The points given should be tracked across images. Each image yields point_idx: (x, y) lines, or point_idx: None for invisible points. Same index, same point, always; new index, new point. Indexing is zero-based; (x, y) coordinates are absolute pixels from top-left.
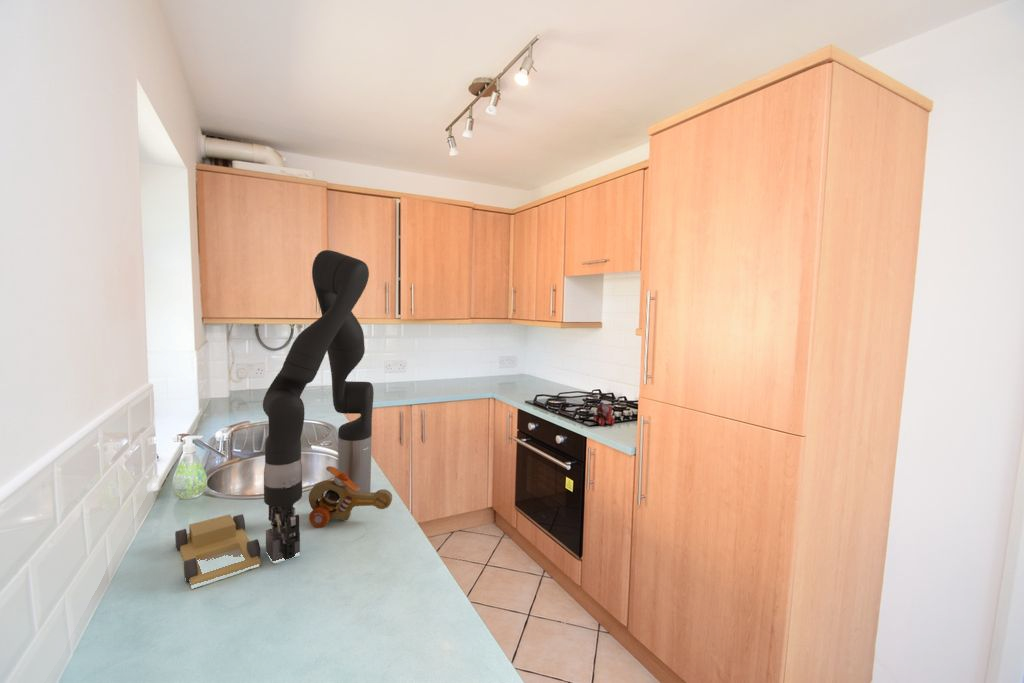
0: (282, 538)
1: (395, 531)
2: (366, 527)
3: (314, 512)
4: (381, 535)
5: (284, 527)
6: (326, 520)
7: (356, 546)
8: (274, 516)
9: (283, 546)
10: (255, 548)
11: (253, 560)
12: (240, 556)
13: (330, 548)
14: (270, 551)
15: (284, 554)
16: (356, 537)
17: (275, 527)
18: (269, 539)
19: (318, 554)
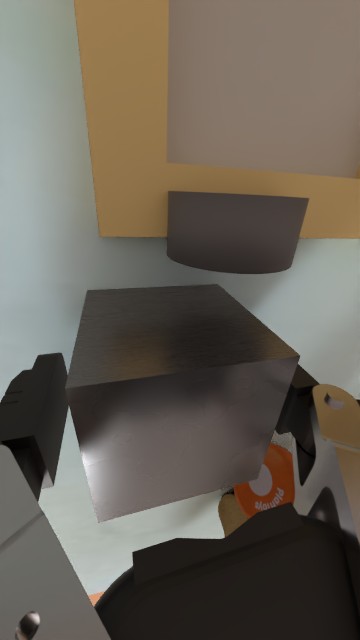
0: (20, 474)
1: (84, 578)
2: (152, 533)
3: (286, 502)
4: (83, 560)
5: (235, 452)
6: (237, 491)
7: (56, 524)
8: (354, 574)
9: (22, 415)
10: (191, 233)
11: (122, 195)
12: (272, 160)
13: None
14: (141, 310)
15: (31, 375)
16: (113, 520)
17: (280, 410)
18: (179, 350)
19: (69, 444)
